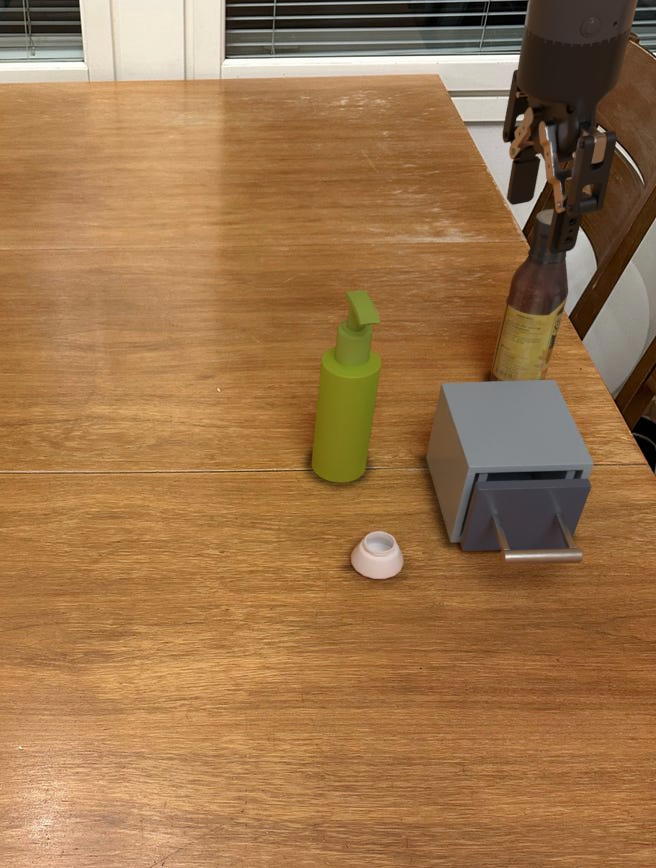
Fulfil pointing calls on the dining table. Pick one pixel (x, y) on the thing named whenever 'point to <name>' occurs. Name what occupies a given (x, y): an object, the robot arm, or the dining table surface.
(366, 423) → the soap dispenser
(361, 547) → the white jar
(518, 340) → the sauce bottle
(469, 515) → the compartment
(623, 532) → the dining table surface
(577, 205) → the robot arm
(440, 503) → the drawer unit
